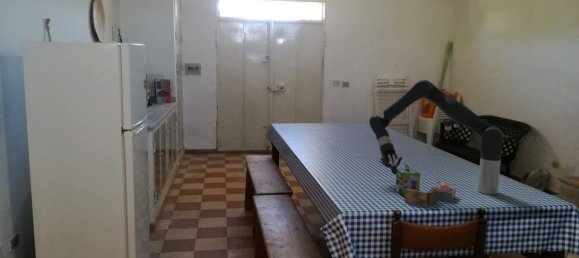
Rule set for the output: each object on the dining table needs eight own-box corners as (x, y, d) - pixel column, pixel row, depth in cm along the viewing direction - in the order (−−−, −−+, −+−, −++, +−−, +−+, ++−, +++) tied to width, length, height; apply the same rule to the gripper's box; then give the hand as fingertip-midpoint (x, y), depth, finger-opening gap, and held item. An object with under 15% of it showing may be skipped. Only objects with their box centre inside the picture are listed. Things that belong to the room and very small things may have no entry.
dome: (450, 195, 208) (451, 183, 207) (448, 198, 203) (449, 185, 203) (438, 193, 211) (439, 181, 210) (436, 196, 206) (437, 183, 205)
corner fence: (435, 200, 203) (436, 187, 202) (429, 206, 193) (430, 193, 192) (411, 196, 209) (412, 184, 208) (404, 201, 199) (405, 189, 198)
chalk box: (419, 196, 208) (421, 166, 206) (401, 196, 208) (402, 166, 206) (412, 190, 218) (414, 162, 215) (394, 191, 217) (396, 162, 215)
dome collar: (455, 196, 209) (455, 188, 208) (451, 201, 201) (452, 193, 201) (436, 193, 213) (436, 185, 213) (431, 198, 206) (432, 190, 205)
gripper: (377, 142, 230) (386, 170, 220) (399, 142, 233) (409, 169, 223) (372, 150, 235) (381, 177, 225) (394, 149, 239) (404, 176, 229)
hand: (395, 173), depth 224 cm, fingers closed
